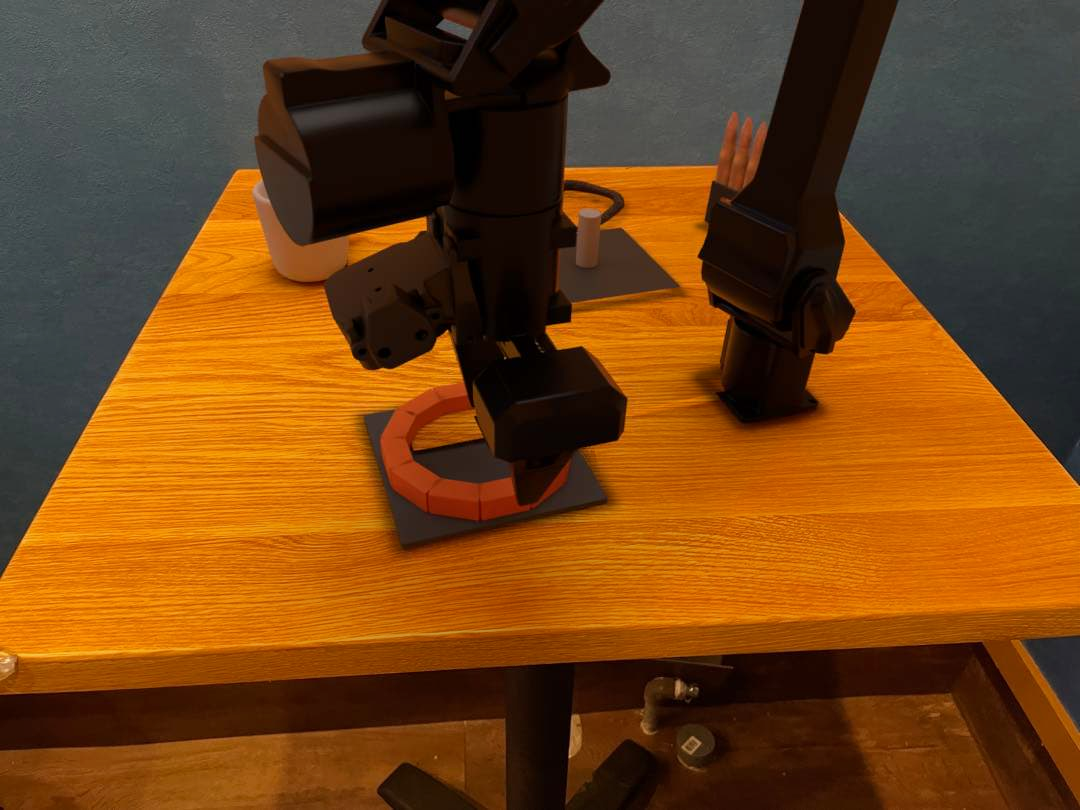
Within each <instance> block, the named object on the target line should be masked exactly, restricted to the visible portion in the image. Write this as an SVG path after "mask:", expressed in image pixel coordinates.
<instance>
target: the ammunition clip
mask: <svg viewBox="0 0 1080 810" xmlns="http://www.w3.org/2000/svg"><path fill="white" fill-rule="evenodd" d="M767 131H768V127H767V122H766V121H765V120H763V121H762V123H760V125H759V126H758V130H757V132H756V134H755V136H754V137H755V138H754V140H753V121H752V116H750V115H747V118H746V119H745V121H744V122H743V125H742V128H741V130H740V133H739V137H738V132H739V117H738V113H737V111H736V110H734V111H733V112H732V114H731V115H730V117H729V120H728V122H727V125H726V129H725V133H724V137H723V138H724V139H723V140H722V141H723V142H722V146H721V150H720V152H719V154H718V155H719V156H718V160H717V165H716V172H715V178H714V180H712V181H711V184H710V190H709V195H708V201H707V205H706V211H705V215H704V220H703V221H704V222H705V223H708V224H709V219H710V212H711V210H712V208H713V207H714V205H715V204H716V203H717V202H718V201H726V202H730V201H731V200H732V199H733V198H734V197H735V196H736V195H737V194H738V193H739V192H740V191H741V190H742V189H743V188H744V187H745V186H746V185H747V184H748V183H749V182H750V181H751V180H752V179H753V178H754V175H755V173H756V170H757V167H758V163H759V159H760V156H761V152H762V149H763V145H764V141H765V138H766V134H767ZM737 140H738V143H737ZM752 140H753V145H752ZM751 146H752V149H751Z"/></svg>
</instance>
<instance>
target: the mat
mask: <svg viewBox="0 0 1080 810" xmlns="http://www.w3.org/2000/svg"><path fill="white" fill-rule="evenodd" d="M396 409H397V410H398V408H395V409H389V410H384V411H379V412H372V413H366V414H364V415H363V419H364V424H365V427H366V430H367V433H368V437H369V440H370V444H371V447H372V450H373V454H374V457H375V460H376V464H377V467H378V470H379V472H380V477H381V480H382V483H383V487H384V492H385V495H386V497H387V501H388V504H389V508H390V511H391V515H392V518H393V521H394V525H395V527H396V528H395V529H396V531H397V534H398V537H399V542H400V544H401V547H402V549H403V550H404V549H408V548H412V547H418V546H421V545H426V544H430V543H431V544H432V543H436V542H439V541H443V540H448V539H453V538H456V537H461V536H466V535H471V534H474V533H480V532H482V531H488V530H493V529H498V528H499V527H501V528H502V527H505V526H510V525H514V524H518V523H523V522H526V521H532V520H535V519H536V520H537V519H540V518H544V517H545V518H546V517H549V516H552V515H553V516H554V515H558V514H562V513H566V512H571V511H575V510H576V511H577V510H579V509H583V508H589V507H592V506H598V505H601V504H606V503H608V500H609V498H608V496H607V494H606V492H605V491H604V489H603V487H602V486H601V484H600V482H599V481H598V479H597V477H596V475H595V473H594V472H593V471H592V469H591V468H590V466H589V464H588V462H587V460H586V459H585V458H584V456H583V454H582V453H581V451H580V449H579V450H578V451H577V452H576V453H575V454H574V456H573V457H572V458H571V462H570V466H569V470H568V474H567V479H566V482H564V485H562V486H561V487H560V488H559V489H557V490H556V491H555V492H554V493H552V494H551V495H550V496H549V497H547V498H546V499H545V500H543V501H542V502H541V503H540V504H538V505H537V506H536V507H535V508H533V509H532V508H530V510H528V511H524V512H519V513H515V514H510V515H506V516H501V517H497V518H493V519H488V520H484V521H482V520H481V518H480V519H479V521H476V520H469V519H463V518H456V517H450V516H443V515H437V514H431V513H430V512H429V511H428V512H425V511H424V510H422V509H421V508H419V507H418V506H416V505H415V504H414V503H412V502H411V501H409V500H408V499H406V498H405V497H403V496H402V495H400V494H399V493H397V492H396V491H395V490H393V487H391V485H390V481H389V478H388V475H387V472H386V468H385V465H384V462H383V458H382V452H381V442H380V440H381V435H382V434H383V432H384V430H385V428H386V426H387V424H388V423H389V421H390V419H391V417H392V415H393V414H394V412H395V410H396ZM410 452H411V455H412V457H413V460H414V461H415V462H417V463H418V464H420V465H421V466H423V467H424V468H426V469H428V470H429V471H431V472H432V473H434V474H435V475H437V476H438V477H440V478H443V479H450V480H456V481H463V482H470V483H476V484H481V483H486V482H491V481H496V480H500V479H505V478H510V477H511V475H510V470H509V465H508V462H507V461H504V460H501V459H498V458H495V457H494V455H493V453H492V451H491V450H490V449H489V447H488V446H487V444H486V441H485V439H484V437H479V438H475V439H474V438H473V439H470V440H463V441H459V442H454V443H448V444H444V445H438V446H433V447H428V448H423V449H422V448H421V449H417V450H414V447H413V445H412V446H411V448H410Z"/></svg>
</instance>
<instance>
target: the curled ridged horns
mask: <svg viewBox="0 0 1080 810" xmlns="http://www.w3.org/2000/svg"><path fill="white" fill-rule="evenodd" d="M569 189H571V190H575V191H580V192H583V193H588V194H593V195H598V196H601V197H605V198H608V199H611V200H612V201H613V204H611V205H610V207H608V208H607V209H606V210H605V211H603V213H601V223H600V226H602V225H604V224H606V222H608V221H609V220H611V219H612V218H613V217H615V216H616V215H617V214H619V213H620V212H621V211H622V210H623V208H624V207H625V198H624V196H622V194H621V193H620V192H618V191H616V190H614V189H610V188H608V187H604V186H601V185H598V184H594V183H592V182H591V183H590V182H587V181H583V180H579V179H564V191H567V190H569ZM576 226H577V233H578V225H576Z"/></svg>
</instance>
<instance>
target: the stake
mask: <svg viewBox="0 0 1080 810" xmlns="http://www.w3.org/2000/svg"><path fill="white" fill-rule="evenodd" d="M601 215H602V212H601V211H600V210H598V209H595V208H583V209H580V210H579V212H578V221H577V226H578V232H577V234H576V247H568V248H561V254H560V274H559V288H560V289H561V291H562V292H563V293H564V295H565V296H566V297H567V299H568V300H569V301H570V303H571V304H575V303H582V302H588V301H595V300H603V299H609V298H615V297H622V296H630V295H636V294H643V293H648V292H655V291H663V290H669V289H675V288H680V287H682V286H681V285H680V284H679V283H678V282H677V281H676V280H675V279H674V278H673V277H672V276H671V275H670V274H669V273H668V272H667V271H666V270H665V269H664V268H663V267H662V266H661V265H660V264H659V263H658V262H657V261H656V260H655V259H654V258H653V257H652V256H651V255H650V254H649V253H648V252H647V251H646V250H645V249H644V248H643V247H642V246H641V245H640V244H639V243H638V242H637V241H636V240H635V239H634V238H633V237H632V236H631V235H630V234H629V233H628V232H627V231H626V230H624V228H623V227H615V228H606V229H601V225H600V223H601Z"/></svg>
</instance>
